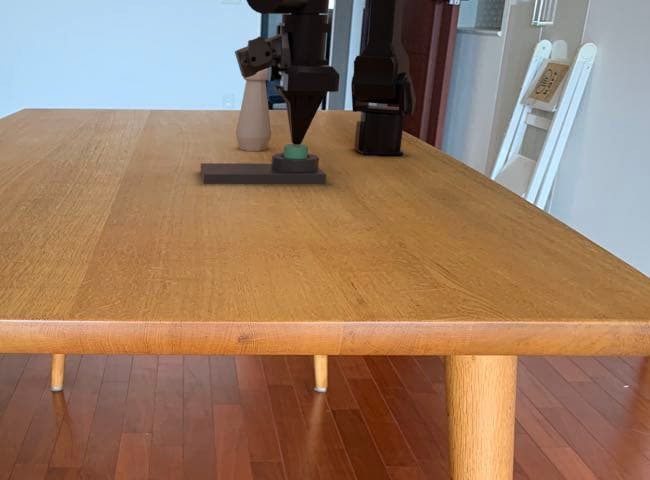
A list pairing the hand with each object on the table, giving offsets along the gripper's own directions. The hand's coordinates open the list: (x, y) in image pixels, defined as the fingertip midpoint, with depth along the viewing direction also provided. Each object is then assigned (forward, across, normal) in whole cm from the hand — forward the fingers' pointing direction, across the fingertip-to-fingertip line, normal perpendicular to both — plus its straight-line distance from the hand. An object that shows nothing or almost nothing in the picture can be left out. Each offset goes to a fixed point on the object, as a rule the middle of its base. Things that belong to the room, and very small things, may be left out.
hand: (296, 144), depth 108 cm
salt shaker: (+5, -26, -2) cm, 27 cm away
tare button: (+2, 0, 0) cm, 2 cm away
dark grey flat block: (+5, 0, -4) cm, 6 cm away
